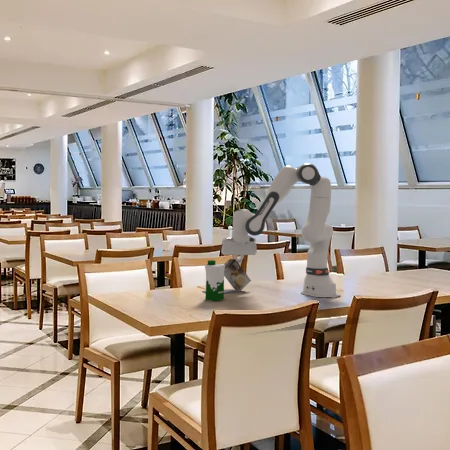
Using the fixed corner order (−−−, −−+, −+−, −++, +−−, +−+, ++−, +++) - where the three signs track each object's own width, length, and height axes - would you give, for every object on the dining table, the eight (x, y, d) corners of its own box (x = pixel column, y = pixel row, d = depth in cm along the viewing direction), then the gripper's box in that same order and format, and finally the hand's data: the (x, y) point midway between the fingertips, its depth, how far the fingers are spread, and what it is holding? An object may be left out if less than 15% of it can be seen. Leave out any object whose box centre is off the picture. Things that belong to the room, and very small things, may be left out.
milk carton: (212, 297, 305) (212, 259, 304) (226, 299, 300) (227, 260, 299) (202, 300, 298) (203, 261, 296) (217, 302, 293) (217, 262, 292)
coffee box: (245, 279, 330) (230, 258, 326) (251, 280, 325) (235, 258, 320) (234, 290, 327) (218, 268, 322) (240, 291, 321) (224, 269, 317)
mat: (239, 292, 320) (239, 292, 320) (208, 294, 313) (208, 294, 313) (231, 289, 329) (231, 289, 329) (202, 291, 322) (202, 291, 322)
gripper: (224, 238, 316) (223, 263, 317) (258, 238, 324) (257, 263, 325) (220, 237, 322) (219, 262, 323) (253, 237, 330) (252, 261, 331)
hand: (238, 262), depth 324 cm, fingers closed
